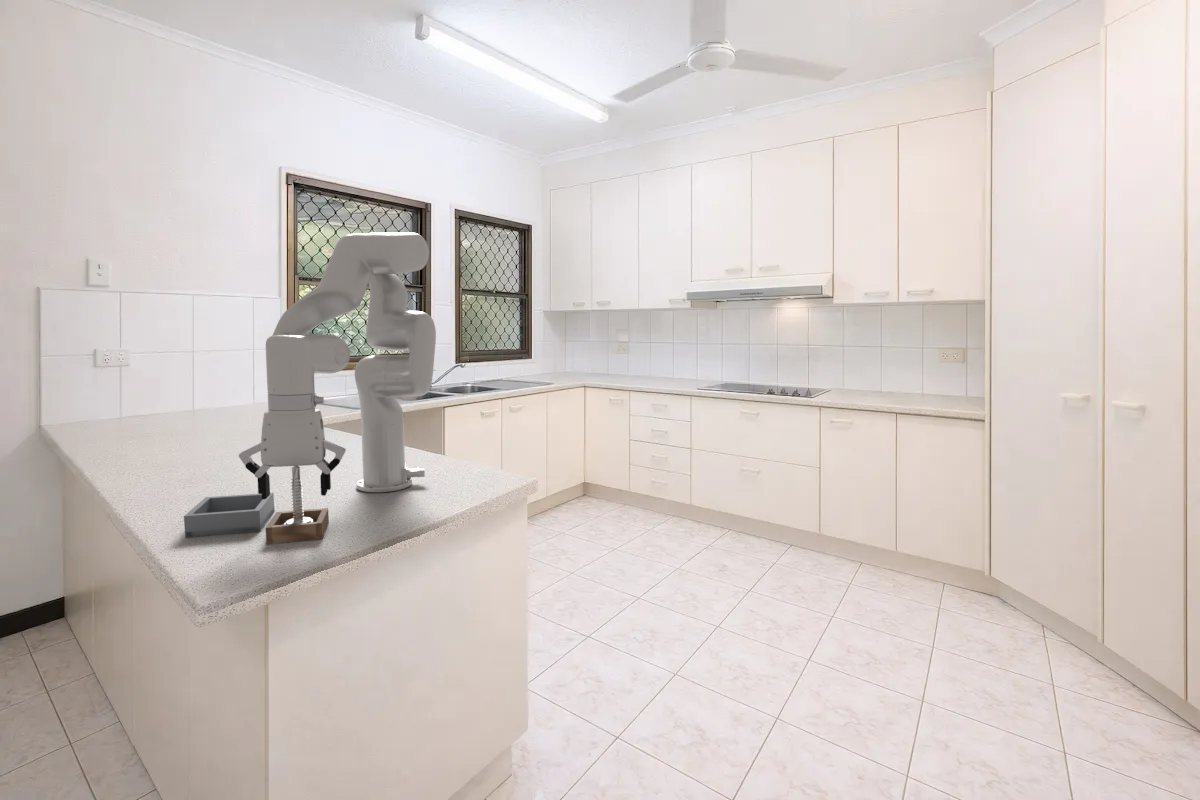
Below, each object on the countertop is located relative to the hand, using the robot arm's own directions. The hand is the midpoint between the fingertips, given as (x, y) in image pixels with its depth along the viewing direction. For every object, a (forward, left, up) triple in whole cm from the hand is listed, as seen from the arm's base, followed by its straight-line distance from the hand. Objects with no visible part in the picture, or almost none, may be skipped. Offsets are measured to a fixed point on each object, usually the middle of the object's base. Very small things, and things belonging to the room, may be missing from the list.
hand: (295, 495), depth 105 cm
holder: (0, 0, -7) cm, 7 cm away
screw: (0, 0, -8) cm, 8 cm away
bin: (+13, -9, -7) cm, 18 cm away
